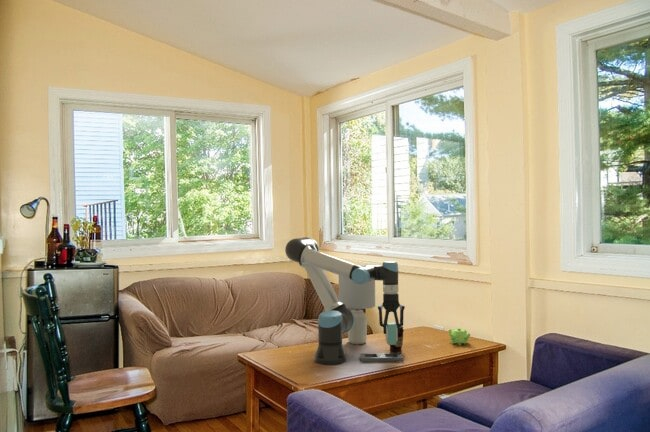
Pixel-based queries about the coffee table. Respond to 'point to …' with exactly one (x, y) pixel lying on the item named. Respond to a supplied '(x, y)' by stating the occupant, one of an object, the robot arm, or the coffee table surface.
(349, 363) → the coffee table surface
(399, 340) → the coffee cup
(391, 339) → the teal brick
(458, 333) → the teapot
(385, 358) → the grey flat frame
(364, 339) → the lamp
